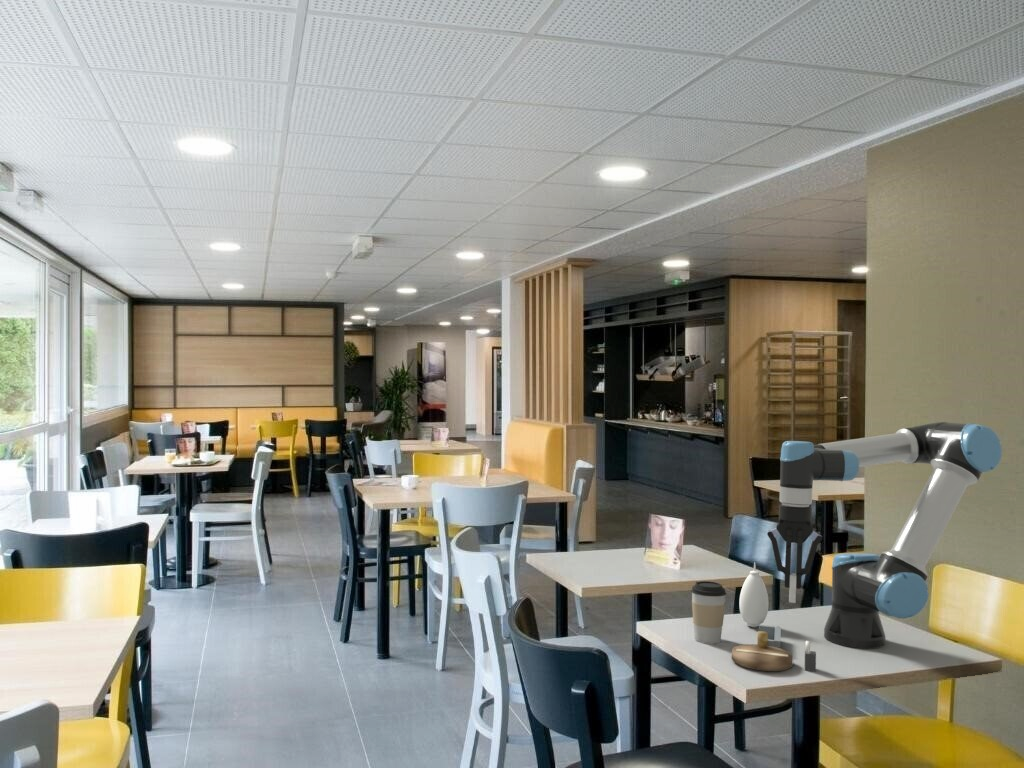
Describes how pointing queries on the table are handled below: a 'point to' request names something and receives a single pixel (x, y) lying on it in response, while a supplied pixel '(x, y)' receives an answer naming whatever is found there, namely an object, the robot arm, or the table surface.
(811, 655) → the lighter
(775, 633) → the pocket stop
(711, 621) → the coffee cup
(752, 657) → the disc
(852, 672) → the table surface
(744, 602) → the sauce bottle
